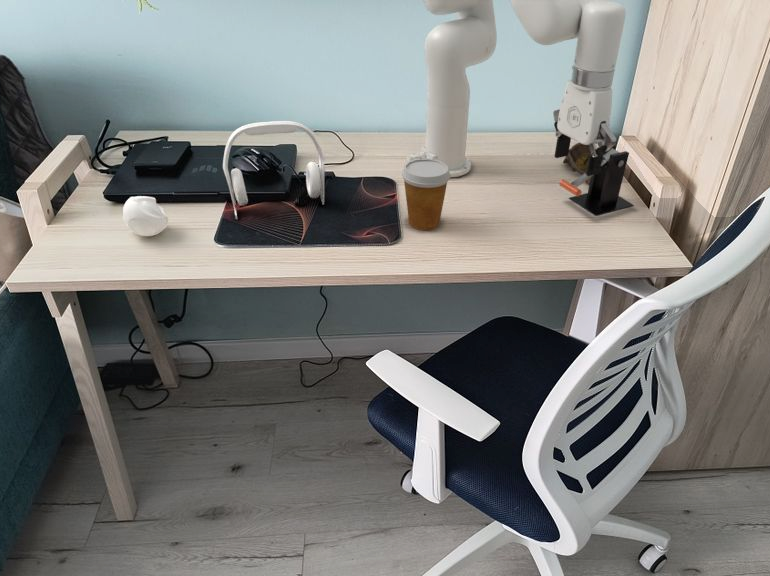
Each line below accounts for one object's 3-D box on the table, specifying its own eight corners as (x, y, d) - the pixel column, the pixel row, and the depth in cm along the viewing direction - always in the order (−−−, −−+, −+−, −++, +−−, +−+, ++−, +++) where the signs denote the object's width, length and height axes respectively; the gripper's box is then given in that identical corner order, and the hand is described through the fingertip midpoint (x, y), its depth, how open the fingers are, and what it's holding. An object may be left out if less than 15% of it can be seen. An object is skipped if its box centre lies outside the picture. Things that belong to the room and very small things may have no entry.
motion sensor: (175, 238, 122) (166, 201, 117) (134, 247, 119) (123, 210, 114) (164, 220, 127) (156, 184, 122) (124, 229, 124) (113, 192, 119)
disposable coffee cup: (453, 217, 134) (456, 162, 126) (438, 238, 127) (441, 181, 119) (410, 208, 136) (411, 154, 128) (393, 228, 129) (394, 172, 121)
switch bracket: (594, 220, 136) (607, 162, 127) (567, 202, 142) (578, 146, 133) (632, 209, 140) (647, 153, 132) (605, 193, 146) (618, 138, 138)
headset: (323, 194, 139) (318, 112, 128) (330, 209, 134) (325, 124, 123) (229, 204, 134) (214, 119, 122) (232, 220, 129) (217, 133, 117)
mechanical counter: (609, 146, 154) (570, 133, 153) (617, 162, 143) (575, 149, 142) (597, 174, 158) (559, 162, 157) (603, 192, 147) (562, 179, 146)
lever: (577, 199, 132) (575, 190, 130) (560, 188, 135) (558, 180, 134) (626, 164, 133) (624, 154, 131) (608, 154, 137) (606, 145, 135)
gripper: (547, 67, 123) (535, 153, 134) (608, 93, 111) (590, 185, 122) (577, 62, 126) (563, 147, 137) (640, 87, 114) (619, 178, 125)
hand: (576, 165), depth 129 cm, fingers open, 9 cm apart
